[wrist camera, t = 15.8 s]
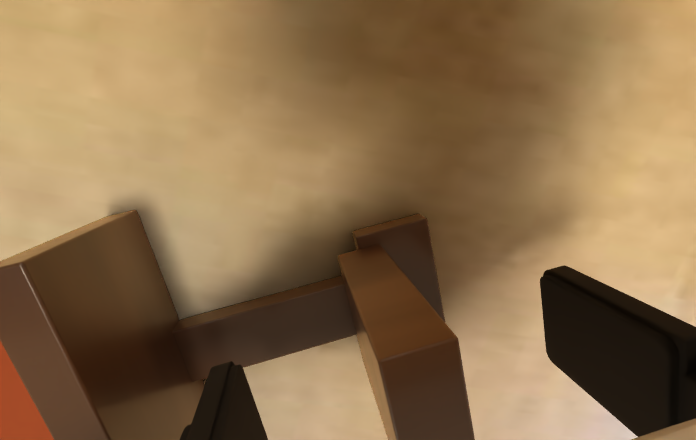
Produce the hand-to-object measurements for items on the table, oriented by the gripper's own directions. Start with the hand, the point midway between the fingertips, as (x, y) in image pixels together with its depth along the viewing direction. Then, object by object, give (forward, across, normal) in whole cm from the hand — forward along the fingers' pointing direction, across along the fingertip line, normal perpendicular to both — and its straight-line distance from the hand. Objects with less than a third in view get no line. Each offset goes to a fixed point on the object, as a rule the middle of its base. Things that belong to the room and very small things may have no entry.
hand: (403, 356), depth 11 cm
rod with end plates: (+5, +3, 0) cm, 6 cm away
